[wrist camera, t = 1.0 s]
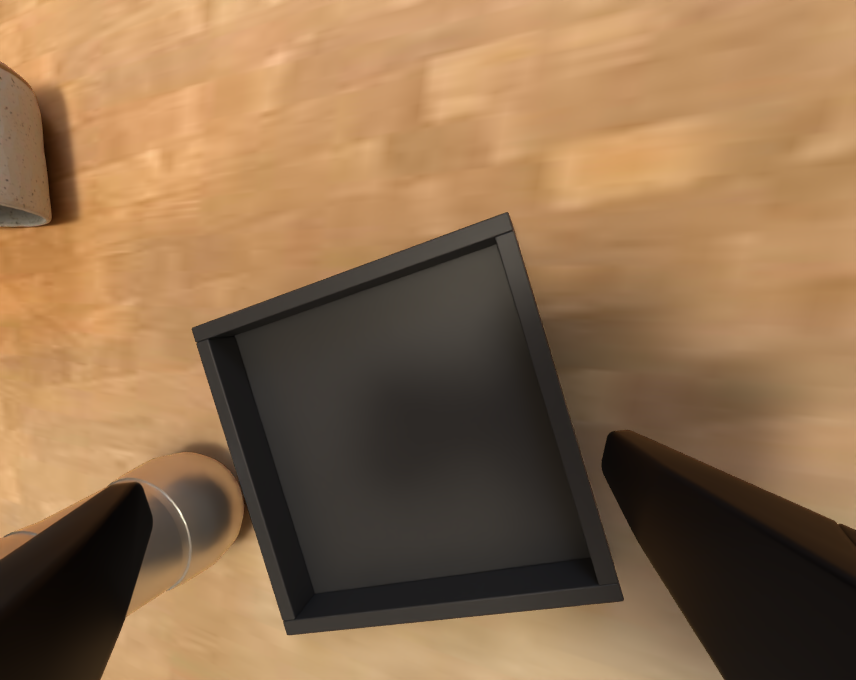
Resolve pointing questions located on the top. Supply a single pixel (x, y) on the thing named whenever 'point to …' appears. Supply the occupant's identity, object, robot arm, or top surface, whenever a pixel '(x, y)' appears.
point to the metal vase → (172, 520)
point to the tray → (409, 442)
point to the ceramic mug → (21, 155)
